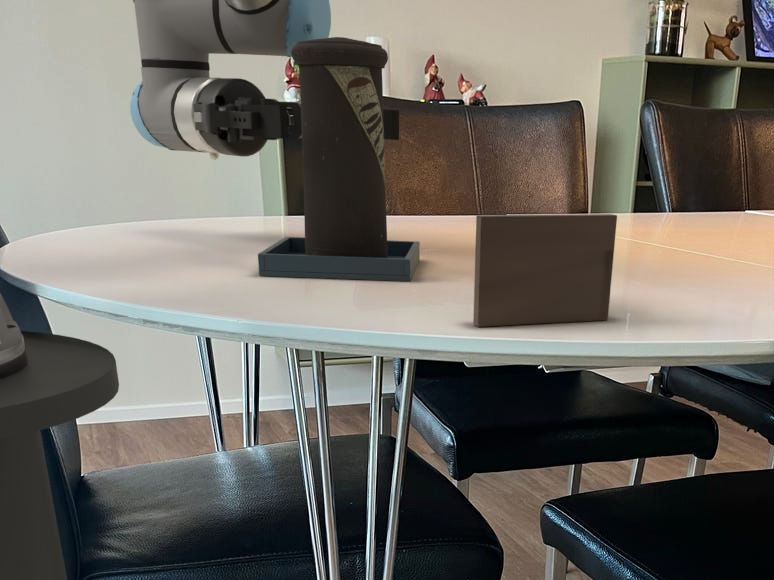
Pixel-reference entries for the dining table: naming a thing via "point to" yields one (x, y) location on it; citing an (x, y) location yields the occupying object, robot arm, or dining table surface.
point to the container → (343, 146)
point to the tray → (339, 262)
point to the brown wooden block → (543, 268)
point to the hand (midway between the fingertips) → (342, 123)
